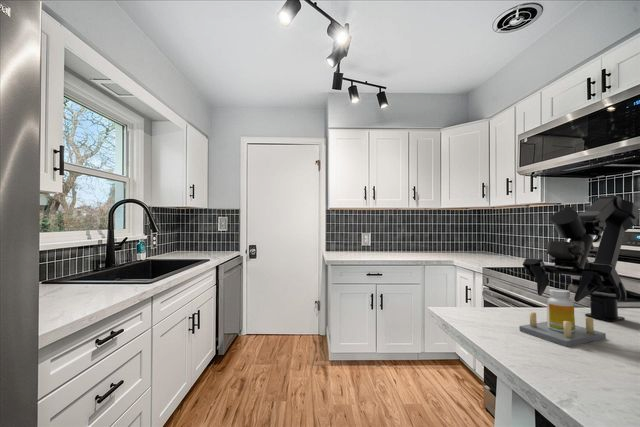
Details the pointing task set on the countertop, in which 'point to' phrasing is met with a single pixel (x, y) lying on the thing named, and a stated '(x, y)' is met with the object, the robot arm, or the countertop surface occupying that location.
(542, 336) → the plate
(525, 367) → the countertop surface
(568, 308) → the supplement bottle
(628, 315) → the countertop surface
